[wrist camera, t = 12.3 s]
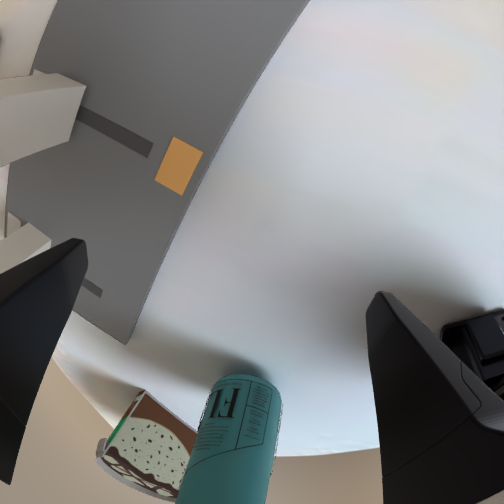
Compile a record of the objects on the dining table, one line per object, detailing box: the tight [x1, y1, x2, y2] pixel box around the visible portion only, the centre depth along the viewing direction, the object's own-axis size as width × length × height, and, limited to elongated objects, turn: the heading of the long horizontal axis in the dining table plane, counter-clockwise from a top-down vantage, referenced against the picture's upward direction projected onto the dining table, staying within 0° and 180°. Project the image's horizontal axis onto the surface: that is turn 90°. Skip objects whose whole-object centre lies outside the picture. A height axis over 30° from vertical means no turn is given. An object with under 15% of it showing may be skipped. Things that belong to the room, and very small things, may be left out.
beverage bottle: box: [175, 374, 283, 504], centre depth 18 cm, size 6×7×20 cm
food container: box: [96, 390, 198, 503], centre depth 29 cm, size 12×6×10 cm, turn 36°
